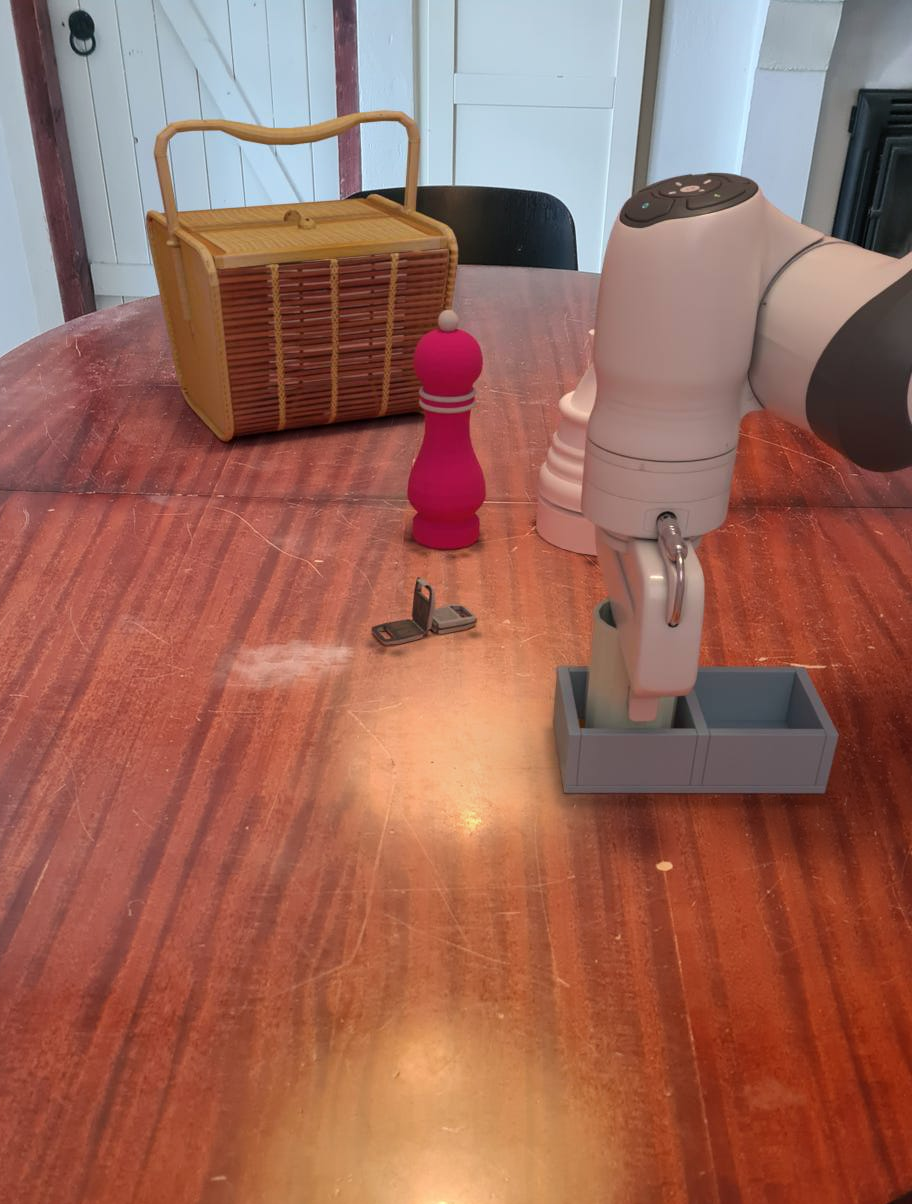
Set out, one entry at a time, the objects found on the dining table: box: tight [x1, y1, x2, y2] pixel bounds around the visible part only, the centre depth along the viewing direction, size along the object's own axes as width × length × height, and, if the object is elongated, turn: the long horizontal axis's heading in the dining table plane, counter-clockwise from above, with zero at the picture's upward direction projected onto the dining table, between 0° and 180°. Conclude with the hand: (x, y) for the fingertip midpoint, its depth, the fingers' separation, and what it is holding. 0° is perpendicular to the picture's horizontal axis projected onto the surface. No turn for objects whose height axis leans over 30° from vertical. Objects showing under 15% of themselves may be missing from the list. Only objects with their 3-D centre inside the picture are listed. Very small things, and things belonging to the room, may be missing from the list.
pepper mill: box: [406, 309, 487, 550], centre depth 110 cm, size 7×7×20 cm
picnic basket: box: [145, 109, 459, 443], centre depth 136 cm, size 29×26×30 cm
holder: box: [552, 665, 840, 794], centre depth 84 cm, size 17×9×5 cm, turn 90°
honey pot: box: [535, 328, 597, 557], centre depth 112 cm, size 13×13×18 cm
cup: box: [583, 596, 678, 729], centre depth 82 cm, size 6×6×9 cm
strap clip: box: [371, 576, 478, 645], centre depth 99 cm, size 8×3×4 cm, turn 116°
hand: (632, 687), depth 82 cm, fingers closed on cup, 6 cm apart
